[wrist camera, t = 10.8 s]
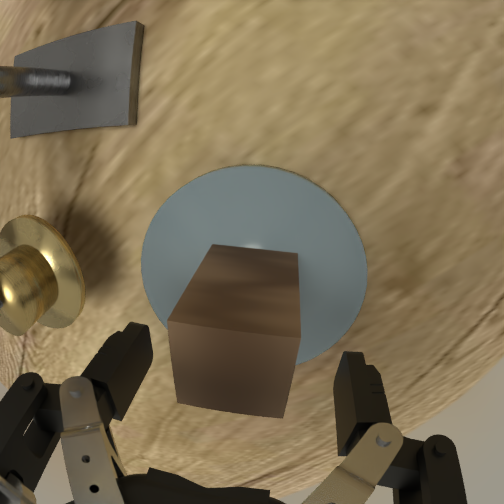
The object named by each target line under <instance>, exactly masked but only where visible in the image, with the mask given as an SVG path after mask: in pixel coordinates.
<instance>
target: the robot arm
mask: <svg viewBox="0 0 504 504" xmlns="http://www.w3.org/2000/svg"><path fill="white" fill-rule="evenodd" d="M152 359H153V350H152V344H151V338H150V331H149V327H148V326H147V325H144V324H139V323H134V322H130V323H129V324H128V325H127V326H126V328H125V329H124V330H123V332H120V331H117V332H116V333H114V334H113V335H111V336H110V337H108V339H107V340H106V341H105V343H104V344H103V347H101V348H100V349H99V351H98V353H97V354H96V355H95V356H94V358H93V359H92V360H91V362H90V363H89V364H88V366H87V367H86V369H85V370H84V371H83V373H82V374H81V376H75V377H71V378H68V379H66V380H65V381H64V382H63V383H62V384H49V383H44V382H43V380H42V378H41V376H40V375H39V374H37V373H33V372H29V373H25V374H22V375H21V376H19V377H18V378H17V379H16V381H15V382H14V383H13V385H12V386H11V387H10V389H9V390H8V392H7V393H6V394H5V396H4V397H3V399H2V400H1V401H0V504H36V498H35V495H34V494H33V493H34V490H35V488H36V486H37V484H38V482H39V480H40V478H41V476H42V473H43V471H44V469H45V467H46V465H47V463H48V461H49V459H50V457H51V455H52V453H53V451H54V449H55V447H56V445H57V443H58V442H59V440H60V438H61V443H62V449H63V455H64V460H65V465H66V470H67V474H68V478H69V483H70V487H71V491H72V495H73V498H74V500H73V501H71V502H68V503H66V504H285V503H283V502H281V501H280V500H277V499H275V498H272V497H269V496H270V490H263V489H254V488H246V487H225V488H205V487H203V486H200V485H198V484H196V483H194V482H191V481H189V480H187V479H185V478H183V477H181V476H179V475H176V474H172V473H168V472H164V471H161V470H157V469H154V468H150V467H149V470H148V472H147V474H133V475H127V473H126V471H125V468H124V466H123V464H122V462H121V459H120V456H119V453H118V450H117V447H116V444H115V441H114V437H113V434H112V431H111V427H110V425H109V424H110V422H111V420H112V418H113V419H116V420H119V421H122V420H123V418H124V416H125V414H126V412H127V410H128V408H129V406H130V404H131V402H132V400H133V398H134V396H135V394H136V392H137V391H138V389H139V387H140V385H141V383H142V381H143V379H144V377H145V375H146V374H147V372H148V370H149V368H150V366H151V363H152ZM333 392H334V404H335V417H336V430H337V446H338V456H347V457H346V458H345V459H344V460H343V462H342V463H341V464H340V465H339V466H337V467H336V468H335V469H334V470H333V471H332V472H331V473H330V474H329V475H328V477H327V478H326V479H325V480H324V481H323V482H322V483H321V484H320V485H319V486H318V487H317V488H316V489H315V490H314V491H313V493H312V494H311V495H310V496H309V497H308V498H307V499H306V500H305V501H304V502H303V503H302V504H364V503H365V502H366V501H367V499H368V498H369V497H370V495H371V494H372V492H373V491H374V489H375V486H376V485H380V486H385V487H390V488H393V501H394V504H467V500H466V494H465V488H464V483H463V478H462V473H461V468H460V464H459V459H458V455H457V451H456V447H455V445H454V443H453V442H452V440H450V439H449V438H448V437H446V436H444V435H433V436H430V437H429V438H428V439H427V440H426V441H425V442H424V441H419V440H414V439H410V438H406V437H404V436H403V435H402V433H401V431H400V430H399V429H398V428H397V427H396V426H394V425H393V424H392V421H391V416H390V412H389V408H388V403H387V399H386V395H385V391H384V387H383V383H382V379H381V375H380V373H379V372H378V371H377V369H376V368H375V367H374V365H366V363H365V359H364V355H363V353H362V352H349V351H344V352H343V355H342V358H341V361H340V364H339V367H338V370H337V373H336V376H335V380H334V387H333ZM32 419H33V421H32V422H31V420H32ZM30 422H31V424H30ZM29 424H30V426H29V427H28V425H29ZM27 427H28V429H27ZM26 429H27V431H26V432H25V430H26ZM24 432H25V434H24ZM23 435H24V436H23Z"/></svg>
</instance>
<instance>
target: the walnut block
mask: <svg viewBox="0 0 504 504" xmlns="http://www.w3.org/2000/svg"><path fill="white" fill-rule="evenodd" d="M167 326H168V336H169V345H170V353H171V361H172V369H173V376H174V383H175V390H176V397H177V403H181V404H186V405H191V406H196V407H201V408H207V409H213V410H219V411H225V412H232V413H239V414H246V415H254V416H263V417H272V418H283V416H284V412H285V408H286V404H287V400H288V395H289V391H290V387H291V383H292V378H293V374H294V369H295V365H296V360H297V355H298V351H299V346H300V341H301V318H300V291H299V268H298V253H293V252H283V251H274V250H265V249H255V248H246V247H236V246H227V245H218V244H212V245H211V247H210V249H209V250H208V252H207V254H206V255H205V257H204V259H203V260H202V262H201V264H200V265H199V267H198V269H197V270H196V272H195V274H194V275H193V277H192V279H191V280H190V282H189V284H188V285H187V287H186V289H185V290H184V292H183V294H182V295H181V297H180V299H179V301H178V302H177V304H176V306H175V307H174V309H173V311H172V313H171V314H170V316H169V318H168V319H167Z"/></svg>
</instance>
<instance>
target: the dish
mask: <svg viewBox="0 0 504 504" xmlns="http://www.w3.org/2000/svg"><path fill="white" fill-rule="evenodd" d="M212 244H218V245H227V246H236V247H246V248H255V249H265V250H274V251H283V252H293V253H298V268H299V291H300V318H301V341H300V346H299V351H298V355H297V360H296V365H298V364H301V363H303V362H306V361H308V360H310V359H312V358H314V357H317V356H318V355H320V354H321V353H323V352H325V351H326V350H328V349H329V348H330V347H331V346H333V345H334V344H335V343H336V342H337V341H339V339H340V338H341V337H342V336H343V335H344V334H345V333H346V332H347V331H348V329H349V328H350V326H351V325H352V324H353V322H354V321H355V319H356V317H357V315H358V313H359V311H360V309H361V306H362V303H363V300H364V297H365V292H366V286H367V262H366V255H365V252H364V248H363V244H362V241H361V239H360V237H359V235H358V232H357V230H356V228H355V226H354V225H353V223H352V221H351V220H350V218H349V217H348V215H347V214H346V212H345V210H344V209H343V208H342V207H341V206H340V205H339V203H338V202H337V201H336V200H335V199H334V198H333V197H332V196H331V195H330V194H328V193H327V192H326V191H325V190H324V189H323V188H321V187H320V186H318V185H317V184H315V183H314V182H312V181H310V180H309V179H307V178H305V177H303V176H300V175H298V174H296V173H294V172H291V171H288V170H284V169H281V168H278V167H272V166H265V165H236V166H228V167H224V168H221V169H217V170H213V171H211V172H209V173H206V174H204V175H202V176H199V177H197V178H196V179H194V180H193V181H191V182H189V183H188V184H186V185H185V186H183V187H181V188H180V189H179V190H178V191H176V192H175V193H174V194H173V195H172V196H170V197H169V198H168V199H167V201H166V202H165V203H164V204H163V205H162V206H161V207H160V209H159V210H158V212H157V213H156V215H155V216H154V218H153V219H152V221H151V223H150V226H149V228H148V230H147V233H146V236H145V239H144V243H143V248H142V256H141V271H142V278H143V284H144V288H145V291H146V294H147V297H148V299H149V302H150V304H151V306H152V308H153V310H154V312H155V313H156V315H157V317H158V318H159V320H160V321H161V322H162V324H163V325H164V326H165V327H166V329H167V330H168V326H167V319H168V318H169V316H170V314H171V313H172V311H173V309H174V307H175V306H176V304H177V302H178V301H179V299H180V297H181V295H182V294H183V292H184V290H185V289H186V287H187V285H188V284H189V282H190V280H191V279H192V277H193V275H194V274H195V272H196V270H197V269H198V267H199V265H200V264H201V262H202V260H203V259H204V257H205V255H206V254H207V252H208V250H209V249H210V247H211V245H212Z"/></svg>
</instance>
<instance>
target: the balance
mask: <svg viewBox="0 0 504 504" xmlns="http://www.w3.org/2000/svg"><path fill="white" fill-rule="evenodd" d="M143 30H144V25H143V24H141V23H140V22H138V21H132V22H127V23H122V24H117V25H112V26H108V27H103V28H99V29H95V30H91V31H87V32H84V33H80V34H77V35H73V36H70V37H67V38H63V39H60V40H57V41H54V42H51V43H48V44H45V45H43V46H40V47H37V48H34V49H32V50H29V51H27V52H24V53H22V54H19V55H17V56H15V60H14V67H13V66H0V98H6V97H11V138H17V137H22V136H28V135H34V134H41V133H48V132H55V131H63V130H72V129H81V128H91V127H103V126H118V125H134V124H137V99H138V83H139V69H140V58H141V48H142V39H143ZM84 303H85V284H84V279H83V275H82V272H81V269H80V266H79V263H78V261H77V259H76V257H75V255H74V253H73V251H72V249H71V248H70V246H69V245H68V243H67V242H66V240H65V239H64V238H63V236H62V235H61V234H60V233H59V232H58V231H57V230H56V229H55V228H54V227H53V226H52V225H51V224H49V223H48V222H47V221H45V220H43V219H41V218H39V217H37V216H34V215H22V216H19V217H17V218H15V219H13V220H11V221H9V222H8V223H7V224H6V225H5V226H4V227H3V229H2V231H1V233H0V326H1V327H2V328H3V329H4V330H6V331H7V332H9V333H10V334H12V335H15V336H21V335H23V334H24V333H25V332H26V331H27V330H28V329H29V328H30V327H31V326H32V325H33V324H34V323H35V322H36V321H37V322H39V323H41V324H42V325H45V326H47V327H51V328H64V327H67V326H69V325H70V324H72V323H73V322H74V321H75V320H76V318H77V317H78V316H79V315H80V314H81V312H82V310H83V307H84Z"/></svg>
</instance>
